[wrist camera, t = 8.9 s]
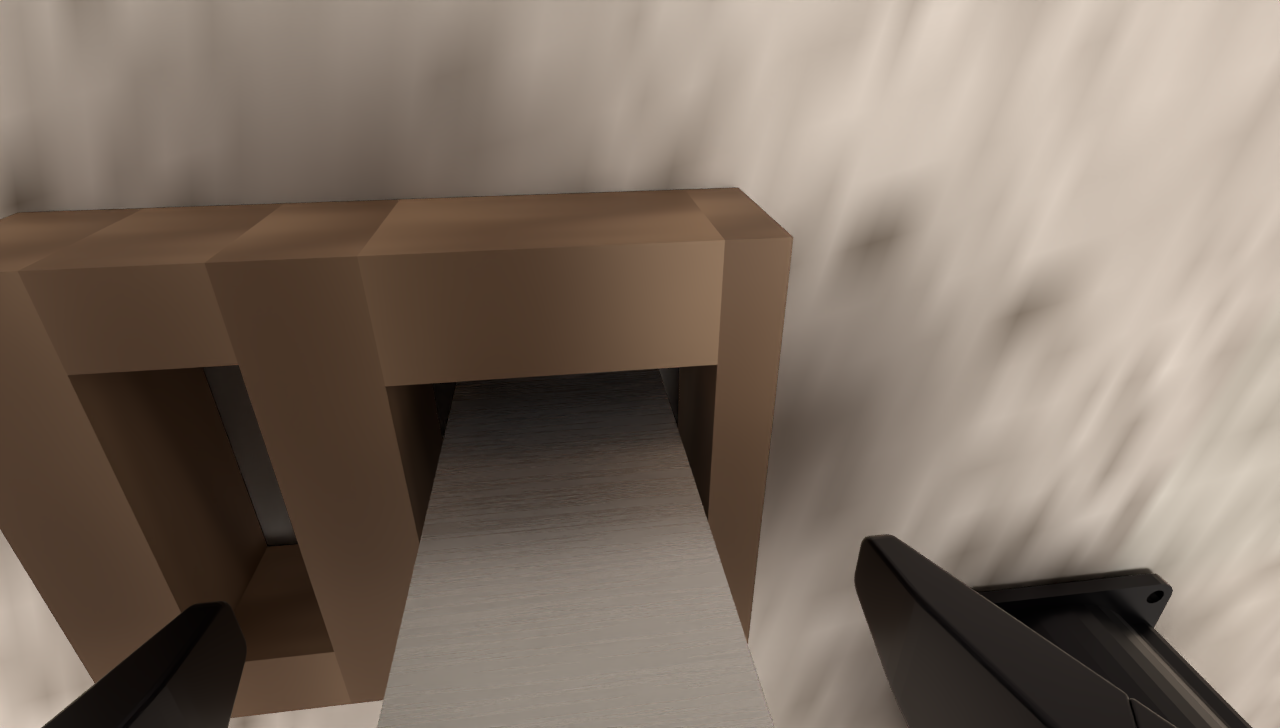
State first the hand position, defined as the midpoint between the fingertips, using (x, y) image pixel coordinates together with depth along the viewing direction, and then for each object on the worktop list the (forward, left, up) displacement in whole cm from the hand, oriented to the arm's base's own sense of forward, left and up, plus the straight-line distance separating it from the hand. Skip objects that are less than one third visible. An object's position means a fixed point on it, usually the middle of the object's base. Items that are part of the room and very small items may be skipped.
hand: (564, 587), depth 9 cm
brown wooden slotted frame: (+2, 0, -5) cm, 5 cm away
